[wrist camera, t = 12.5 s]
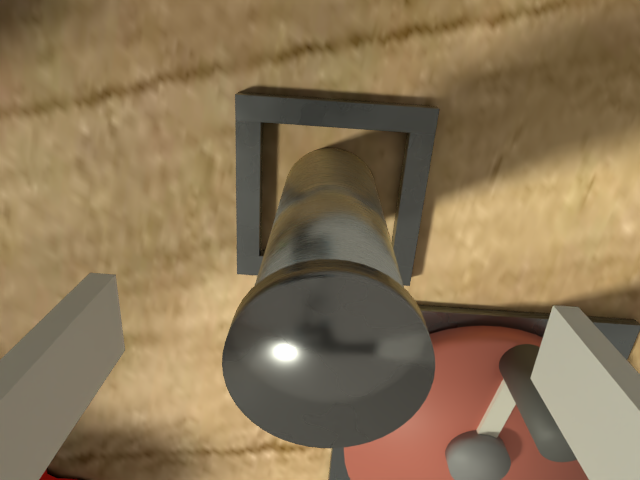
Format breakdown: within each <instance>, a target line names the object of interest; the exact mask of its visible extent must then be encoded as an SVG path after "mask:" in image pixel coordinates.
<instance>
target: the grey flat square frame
mask: <svg viewBox="0 0 640 480" xmlns="http://www.w3.org/2000/svg"><path fill="white" fill-rule="evenodd" d="M235 111H236V208H237V274H245V275H258V273H259V270H260V266H261V263H262V260H263V256H264V253H265V250H261V217H262V144H263V122H266V123H280V124H295V125H309V126H323V127H337V128H351V129H366V130H380V131H394V132H407V138H406V145H405V152H404V159H403V166H402V173H401V180H400V187H399V194H398V201H397V208H396V215H395V222H394V229H393V236H392V247H393V250H394V254H395V257H396V261H397V265H398V268H399V272H400V275H401V279H402V283H403V285H406V286H410V281H411V275H412V269H413V263H414V257H415V251H416V245H417V240H418V234H419V228H420V222H421V216H422V210H423V204H424V198H425V192H426V186H427V180H428V174H429V168H430V162H431V156H432V150H433V144H434V138H435V132H436V126H437V120H438V115H439V108H438V107H436V106H426V105H412V104H398V103H384V102H370V101H356V100H342V99H327V98H313V97H299V96H285V95H271V94H257V93H243V92H238V93H237V94H235Z"/></svg>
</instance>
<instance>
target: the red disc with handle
mask: <svg viewBox="0 0 640 480" xmlns="http://www.w3.org/2000/svg"><path fill="white" fill-rule="evenodd" d="M429 335H430V338H431V342H432V345H433V349H434V354H435V374H434V380H433V383H432V387H431V390H430V392H429V394H428V396H427V398H426V400H425V401H424V403H423V404H422V406H421V407H420V409H419V410H418V411H417V412H416V413H415V414H414V416H413V417H412V418H411V419H409V420H408V421H407V422H406V423H405V424H404V425H402V426H401V427H399V428H398V429H396V430H395V431H393V432H392V433H390V434H388V435H386V436H384V437H382V438H379V439H377V440H374V441H372V442H368V443H365V444H361V445H356V446H351V447H344V458H345V465H346V469H347V473H348V476H349V478H350V480H589V479H588V477H587V476H586V474H585V472H584V470H583V469H582V467H581V465H580V463H579V462H578V460H577V458H576V457H575V455H574V453H573V451H572V450H571V448H570V446H569V444H568V443H567V441H566V439H565V438H564V436H563V434H562V432H561V431H560V429H559V427H558V425H557V424H556V422H555V420H554V418H553V417H552V415H551V413H550V412H549V410H548V408H547V406H546V405H545V403H544V401H543V399H542V398H541V396H540V394H539V392H538V391H537V389H536V387H535V386H534V384H533V382H532V380H531V379H530V378H531V375H532V371H533V368H534V365H535V362H536V358H537V355H538V352H539V349H540V346H541V342H542V339H543V337H540V336H538V335H536V334H533V333H529V332H526V331H522V330H519V329H513V328H507V327H501V326H467V327H459V328H453V329H447V330H443V331H439V332H436V333H432V334H429Z"/></svg>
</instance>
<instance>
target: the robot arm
mask: <svg viewBox="0 0 640 480" xmlns="http://www.w3.org/2000/svg"><path fill="white" fill-rule="evenodd" d="M124 351H125V346H124V338H123V330H122V322H121V314H120V306H119V298H118V290H117V282H116V275H114V274H100V273H89V274H88V275H87V276H86V277H85V278H84V279H83V280H82V281H81V282H80V283H79V284H78V285H77V286H76V287H75V288H74V289H73V290H72V291H71V292H70V293H69V294H68V295H67V296H66V297H65V298H64V299H62V300H61V301H60V302H59V303H58V304H57V305H56V306H55V307H54V308H53V309H52V310H51V311H50V312H49V313H48V314H47V315H46V316H45V317H44V318H43V319H42V320H41V321H40V322H39V323H38V324H37V325H36V326H35V327H34V328H33V329H32V330H31V331H30V332H29V333H28V334H26V335H25V336H24V337H23V338H22V339H21V340H20V341H19V342H18V343H17V344H16V345H15V346H14V347H13V348H12V349H11V350H10V351H9V352H8V353H7V354H6V355H5V356H4V357H3V358H2V359H1V360H0V480H39V479H40V478H41V476H42V475H43V473H44V472H45V470H46V469H47V467H48V466H49V464H50V463H51V461H52V460H53V458H54V456H55V455H56V453H57V452H58V450H59V449H60V447H61V446H62V444H63V443H64V441H65V440H66V438H67V437H68V435H69V434H70V432H71V431H72V429H73V428H74V426H75V425H76V423H77V422H78V420H79V419H80V417H81V416H82V414H83V413H84V411H85V410H86V408H87V407H88V405H89V404H90V402H91V401H92V399H93V398H94V396H95V395H96V393H97V392H98V390H99V389H100V387H101V386H102V384H103V383H104V381H105V380H106V378H107V377H108V375H109V374H110V372H111V371H112V369H113V368H114V366H115V365H116V363H117V361H118V360H119V358H120V357H121V355H122V354H123V352H124ZM530 379H531V380H532V382H533V384H534V386H535V387H536V389H537V391H538V392H539V394H540V396H541V398H542V399H543V401H544V403H545V405H546V406H547V408H548V410H549V412H550V413H551V415H552V417H553V418H554V420H555V422H556V424H557V425H558V427H559V429H560V431H561V432H562V434H563V436H564V438H565V439H566V441H567V443H568V444H569V446H570V448H571V450H572V451H573V453H574V455H575V457H576V458H577V460H578V462H579V463H580V465H581V467H582V469H583V470H584V472H585V474H586V476H587V477H588V479H589V480H640V374H639V373H638V372H637V371H636V370H635V369H634V368H633V367H632V365H631V364H630V363H629V362H628V361H627V360H626V359H625V358H624V357H623V356H622V354H621V353H620V352H619V351H618V350H617V349H616V348H615V347H614V346H613V344H612V343H611V342H610V341H609V340H608V339H607V338H606V337H605V336H604V335H603V333H602V332H601V331H600V330H599V329H598V328H597V327H596V326H595V325H594V324H593V322H592V321H591V320H590V319H589V318H588V317H587V316H586V315H585V314H584V313H583V311H582V310H581V309H580V308H579V307H571V306H556V305H553V307H552V310H551V313H550V317H549V320H548V323H547V326H546V330H545V333H544V336H543V339H542V342H541V346H540V349H539V352H538V355H537V358H536V362H535V365H534V368H533V371H532V375H531V378H530Z"/></svg>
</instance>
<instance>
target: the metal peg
mask: <svg viewBox="0 0 640 480" xmlns="http://www.w3.org/2000/svg"><path fill="white" fill-rule="evenodd" d="M222 367H223V376H224V379H225V383H226V386H227V389H228V391H229V393H230V395H231V397H232V399H233V400H234V402H235V403H236V405H237V406H238V408H239V409H240V410H241V411H242V412H243V413H244V415H245V416H247V417H248V418H249V419H250V420H251V421H252V422H253V423H254V424H256V425H257V426H259V427H260V428H261V429H263V430H265V431H266V432H268V433H270V434H272V435H274V436H276V437H278V438H281V439H283V440H285V441H289V442H292V443H295V444H299V445H304V446H308V447H317V448H343V447H351V446H356V445H361V444H365V443H368V442H372V441H374V440H377V439H379V438H382V437H384V436H386V435H388V434H390V433H392V432H393V431H395V430H396V429H398V428H399V427H401V426H402V425H404V424H405V423H406V422H407V421H408V420H409V419H411V418H412V417H413V416H414V414H415V413H416V412H417V411H418V410H419V409H420V407H421V406H422V404H423V403H424V401H425V400H426V398H427V396H428V394H429V392H430V390H431V387H432V383H433V380H434V374H435V354H434V349H433V345H432V342H431V338H430V335H429V332H428V329H427V326H426V323H425V320H424V317H423V315H422V312H421V310H420V308H419V307H418V305H417V303H416V301H415V300H414V299H413V297H412V296H411V295H410V294H409V292H408V291H407V290H406V289H405V288H404V286H403V283H402V279H401V275H400V272H399V268H398V265H397V261H396V257H395V254H394V250H393V247H392V243H391V239H390V236H389V232H388V229H387V225H386V221H385V218H384V214H383V210H382V207H381V203H380V200H379V196H378V192H377V189H376V185H375V182H374V178H373V176H372V173H371V171H370V170H369V168H368V167H367V165H366V164H365V163H364V162H363V161H362V160H361V159H360V158H358V157H357V156H356V155H354V154H352V153H350V152H348V151H345V150H342V149H337V148H324V149H319V150H315V151H312V152H310V153H308V154H306V155H305V156H303V157H302V158H301V159H299V160H298V161H297V162H296V163H295V164H294V166H293V167H292V168H291V170H290V172H289V174H288V176H287V179H286V182H285V186H284V189H283V192H282V196H281V199H280V203H279V206H278V209H277V213H276V216H275V219H274V223H273V226H272V229H271V233H270V236H269V240H268V243H267V246H266V250H265V253H264V256H263V260H262V263H261V266H260V270H259V273H258V276H257V280H256V283H255V286H254V287H253V288H252V289H251V290H250V291H249V292H248V294H247V295H246V296H245V297H244V298H243V300H242V302H241V303H240V305H239V307H238V308H237V311H236V313H235V316H234V318H233V321H232V324H231V327H230V330H229V333H228V336H227V338H226V341H225V346H224V350H223V358H222Z"/></svg>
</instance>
